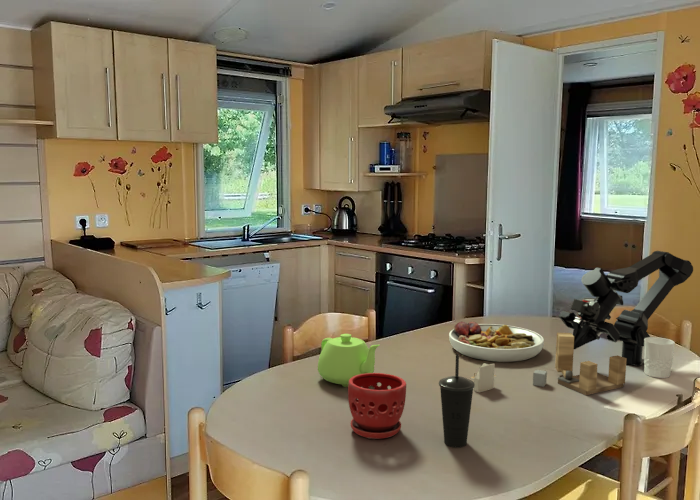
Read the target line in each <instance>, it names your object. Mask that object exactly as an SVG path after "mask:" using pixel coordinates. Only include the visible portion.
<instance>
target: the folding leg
mask: <svg viewBox="0 0 700 500" xmlns="http://www.w3.org/2000/svg"><path fill="white" fill-rule="evenodd" d="M555 339H556V342H555V344H556V346H555V360H554V361H555V362H554V368H555V370H556V372H557V373H561V374H562V377H564V378H565V379H568V380H571V379H573V376H574V375H573V369H574V367H573V366H574V350H575V349H574V336H573V332H556V338H555Z"/></svg>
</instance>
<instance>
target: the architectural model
mask: <svg viewBox="0 0 700 500" xmlns="http://www.w3.org/2000/svg"><path fill="white" fill-rule="evenodd" d="M495 366H496V365H495V363H490V364H488V363H482V365H481V366H479V368H478V369H479V370H478V371H477V372H476V373H474V374H473V376H470V377H469V378H470V380H472V381H473V382H474V384H475V387H474V388H473V392H477V393H481V392H486V391H488V390H493V389H494V387H495V378H497V375H496V374H495Z"/></svg>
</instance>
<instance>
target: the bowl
mask: <svg viewBox="0 0 700 500" xmlns="http://www.w3.org/2000/svg"><path fill="white" fill-rule="evenodd" d="M448 337H449V338H448V339H449V342H450V345H451V346H452V348H453V349H455V351H456V352H458V354H459V353H460V354H462V355H463V356H466V357H468V358H473V359H475V360H476V359H477V360H482V361H487V362H495V363H496V362H499V363H501V362H503V363H509V362H520V361H526V360H529V359H531V358H534V357H535V356H537V355H539V354H540V353H541V351H542V350H543V348H544V344H545V340H544V337H543V336H542V335H541V334H539V333H538V332H536V331H534V330H530V329H529V328H523V327H520V326H519V327H518V326H514V325H507V324H495V323H478V322H475V321H469V322H468V323H467V322H466V321H459V322H457V323H456V324H455V325H454V327H453V329H452V330H450V331H449V333H448Z"/></svg>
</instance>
